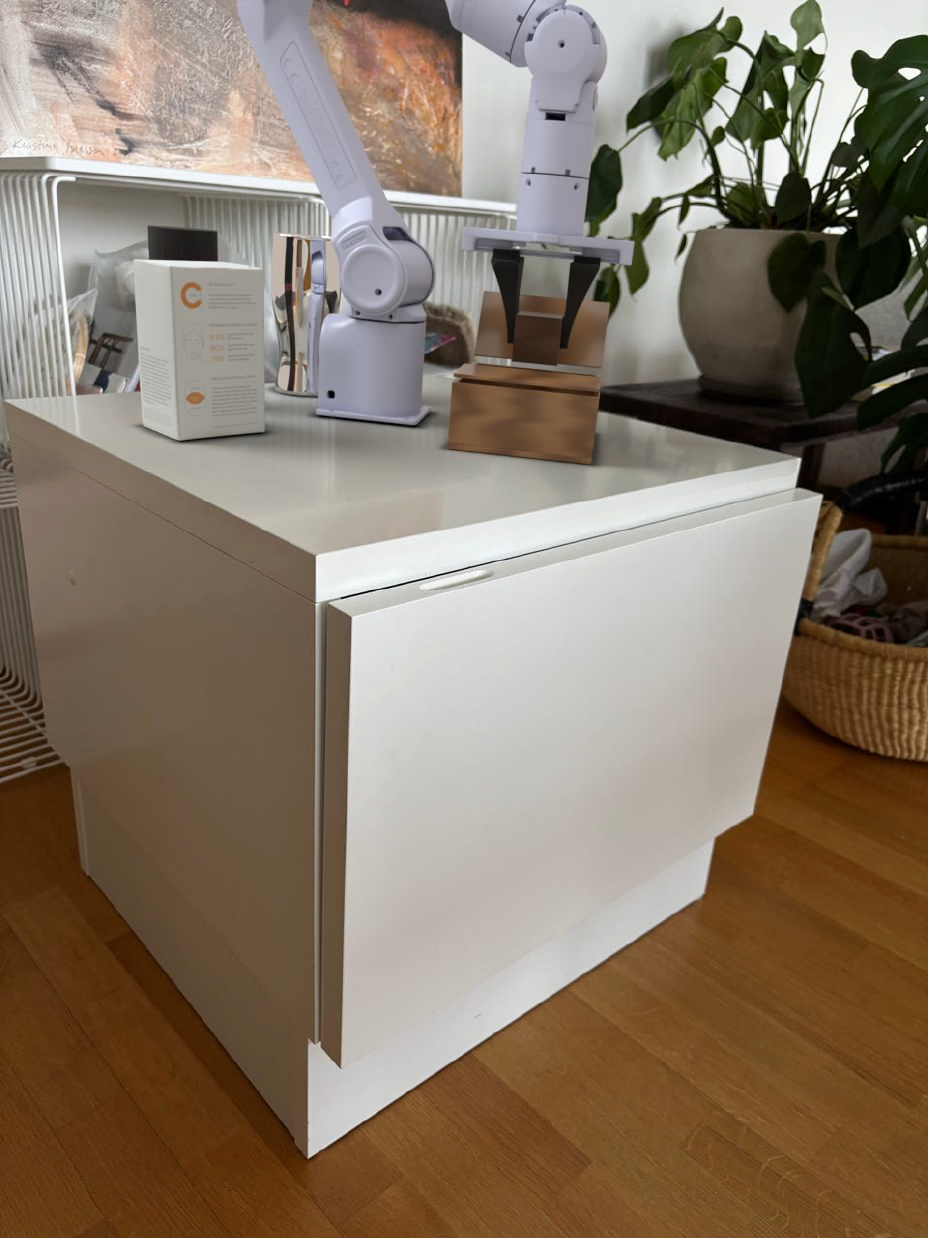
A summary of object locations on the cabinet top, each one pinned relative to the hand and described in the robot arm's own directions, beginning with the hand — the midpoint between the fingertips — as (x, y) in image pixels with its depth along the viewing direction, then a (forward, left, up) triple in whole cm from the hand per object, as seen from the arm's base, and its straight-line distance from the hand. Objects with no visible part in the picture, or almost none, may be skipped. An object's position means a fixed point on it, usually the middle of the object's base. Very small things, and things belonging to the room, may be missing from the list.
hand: (537, 344), depth 86 cm
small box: (-26, -12, -8) cm, 30 cm away
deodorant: (-32, -1, -8) cm, 33 cm away
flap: (0, +5, +1) cm, 5 cm away
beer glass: (-24, +10, -8) cm, 27 cm away
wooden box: (0, -3, -8) cm, 9 cm away
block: (0, 0, -1) cm, 1 cm away
